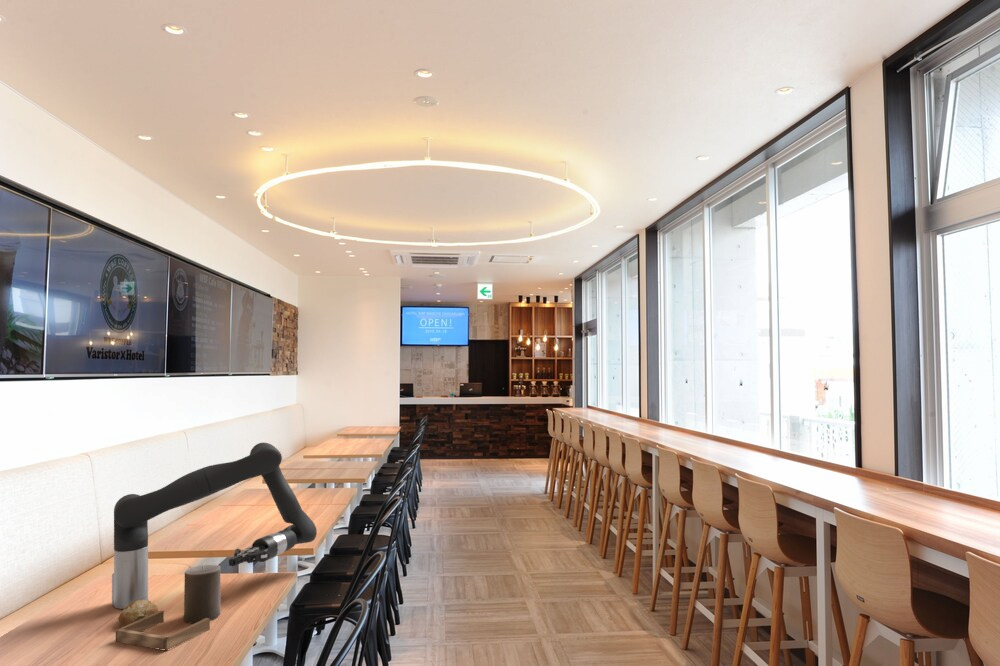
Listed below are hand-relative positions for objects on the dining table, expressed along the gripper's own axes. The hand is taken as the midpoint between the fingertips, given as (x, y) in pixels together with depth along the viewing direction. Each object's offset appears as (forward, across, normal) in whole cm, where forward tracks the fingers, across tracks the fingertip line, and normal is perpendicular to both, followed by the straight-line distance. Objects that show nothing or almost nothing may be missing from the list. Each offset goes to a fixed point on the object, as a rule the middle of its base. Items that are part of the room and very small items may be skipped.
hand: (230, 562), depth 201 cm
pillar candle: (+11, 0, +12) cm, 17 cm away
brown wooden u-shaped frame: (+24, 0, +12) cm, 27 cm away
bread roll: (+20, -16, +12) cm, 28 cm away
